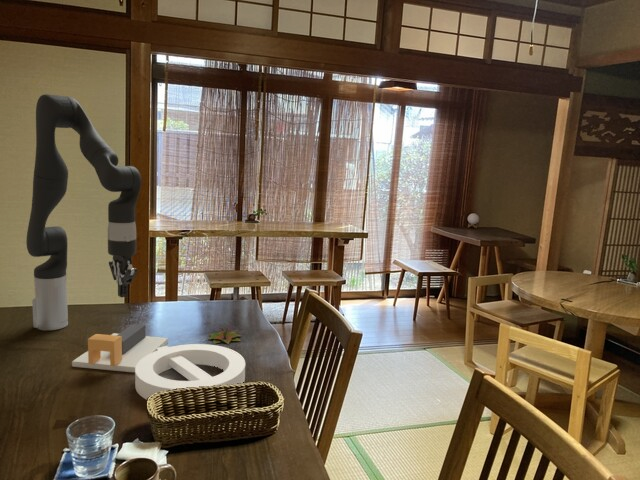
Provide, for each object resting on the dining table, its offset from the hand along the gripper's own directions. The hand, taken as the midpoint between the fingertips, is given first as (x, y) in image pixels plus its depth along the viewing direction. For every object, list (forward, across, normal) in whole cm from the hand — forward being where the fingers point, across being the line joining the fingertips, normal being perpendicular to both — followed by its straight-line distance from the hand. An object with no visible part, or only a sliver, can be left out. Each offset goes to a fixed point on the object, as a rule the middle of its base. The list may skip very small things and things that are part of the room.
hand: (122, 296), depth 141 cm
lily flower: (+18, +9, +30) cm, 36 cm away
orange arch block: (+16, +6, -8) cm, 19 cm away
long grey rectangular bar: (+16, -2, +2) cm, 16 cm away
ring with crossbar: (+18, +27, +6) cm, 33 cm away
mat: (+18, 0, 0) cm, 18 cm away
